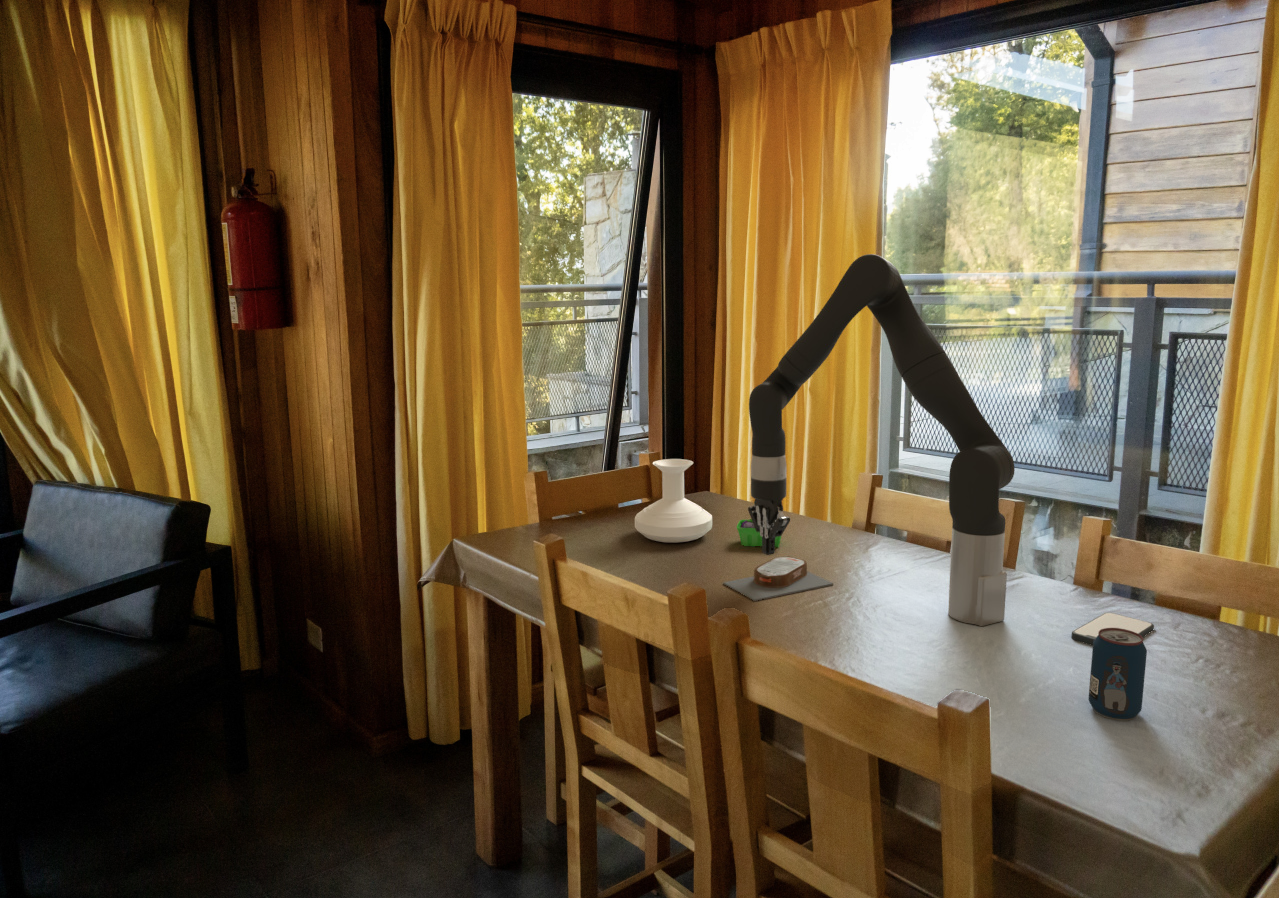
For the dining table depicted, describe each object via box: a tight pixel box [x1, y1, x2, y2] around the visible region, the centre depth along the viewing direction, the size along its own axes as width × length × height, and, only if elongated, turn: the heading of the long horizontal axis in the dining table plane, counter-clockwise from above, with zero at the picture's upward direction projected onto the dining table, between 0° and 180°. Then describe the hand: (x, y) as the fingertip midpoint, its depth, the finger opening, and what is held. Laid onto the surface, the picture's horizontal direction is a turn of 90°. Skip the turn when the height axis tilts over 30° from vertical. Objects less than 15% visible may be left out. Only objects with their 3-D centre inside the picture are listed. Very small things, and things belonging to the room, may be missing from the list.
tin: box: [753, 555, 808, 588], centre depth 190 cm, size 15×3×8 cm
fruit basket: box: [736, 518, 783, 548], centre depth 215 cm, size 11×9×11 cm
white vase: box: [634, 458, 713, 543], centre depth 222 cm, size 20×20×19 cm
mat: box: [722, 570, 834, 602], centre depth 186 cm, size 12×20×1 cm, turn 116°
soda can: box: [1088, 628, 1148, 722], centre depth 128 cm, size 7×7×12 cm
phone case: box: [1071, 612, 1155, 646], centre depth 158 cm, size 9×2×16 cm
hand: (768, 553), depth 189 cm, fingers closed
